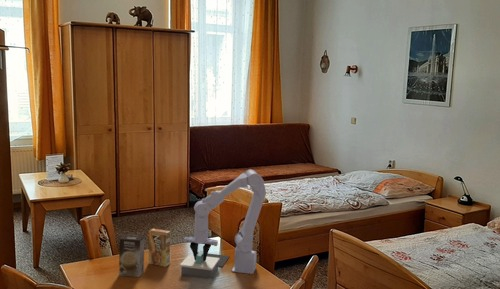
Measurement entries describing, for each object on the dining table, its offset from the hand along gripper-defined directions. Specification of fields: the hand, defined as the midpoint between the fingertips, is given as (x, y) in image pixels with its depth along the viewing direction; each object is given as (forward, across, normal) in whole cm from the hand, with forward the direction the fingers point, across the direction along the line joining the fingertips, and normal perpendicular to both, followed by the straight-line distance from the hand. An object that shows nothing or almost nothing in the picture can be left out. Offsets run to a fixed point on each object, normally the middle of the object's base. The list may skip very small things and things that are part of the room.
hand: (200, 259), depth 202 cm
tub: (+5, 0, 0) cm, 5 cm away
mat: (+5, 0, -14) cm, 15 cm away
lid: (+1, 0, 0) cm, 1 cm away
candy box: (+6, +20, -3) cm, 21 cm away
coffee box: (+6, +27, +10) cm, 29 cm away
